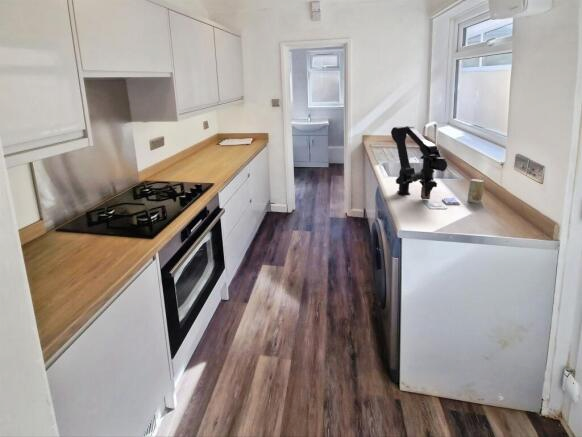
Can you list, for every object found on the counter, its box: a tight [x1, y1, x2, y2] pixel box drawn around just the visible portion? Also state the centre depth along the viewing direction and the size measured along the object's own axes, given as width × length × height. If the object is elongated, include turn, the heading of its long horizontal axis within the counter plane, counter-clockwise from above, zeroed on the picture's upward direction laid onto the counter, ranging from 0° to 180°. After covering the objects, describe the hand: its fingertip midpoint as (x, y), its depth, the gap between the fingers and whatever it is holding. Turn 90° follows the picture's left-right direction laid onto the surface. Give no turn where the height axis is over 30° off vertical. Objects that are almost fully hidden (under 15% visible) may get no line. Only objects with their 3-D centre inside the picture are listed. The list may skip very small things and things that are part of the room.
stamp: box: [420, 186, 431, 200], centre depth 231 cm, size 4×4×6 cm
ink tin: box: [441, 197, 461, 206], centre depth 228 cm, size 9×7×1 cm
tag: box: [423, 201, 448, 210], centre depth 223 cm, size 12×9×1 cm
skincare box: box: [467, 178, 485, 204], centre depth 226 cm, size 6×4×12 cm
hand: (425, 195), depth 232 cm, fingers closed on stamp, 4 cm apart
